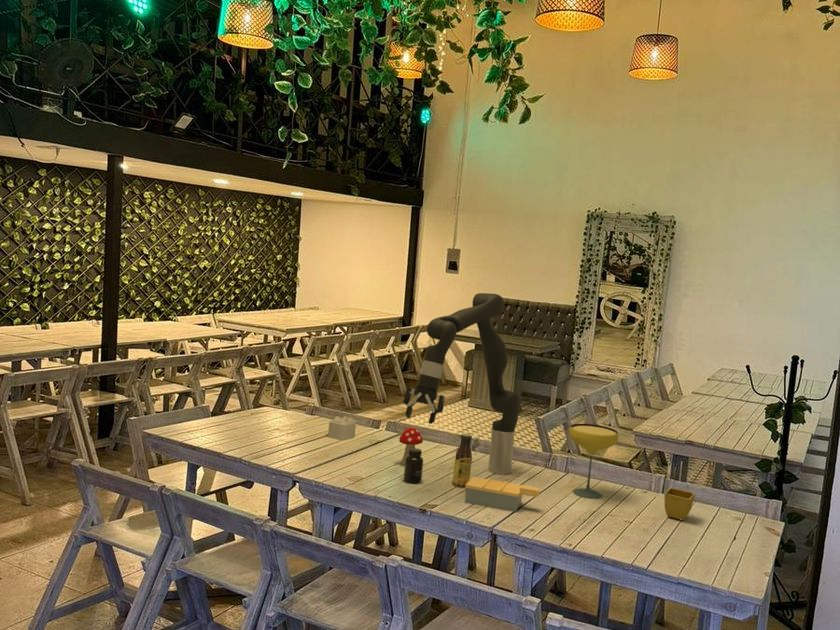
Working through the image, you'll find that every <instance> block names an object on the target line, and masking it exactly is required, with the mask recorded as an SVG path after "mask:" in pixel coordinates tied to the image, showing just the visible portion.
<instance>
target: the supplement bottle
mask: <svg viewBox="0 0 840 630" xmlns="http://www.w3.org/2000/svg"><path fill="white" fill-rule="evenodd" d="M408 454H409V455H408V456H407V457H406V459H405V466H404V468H403V469H404V470H403V471H404V472H403V481H404V482H405V481H406V483H409V484H419V483H421V482H422V477H423V466H424V459H423V457H422V449H420V448H416V447H415V448H411V449H409V453H408Z"/></svg>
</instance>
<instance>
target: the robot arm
mask: <svg viewBox="0 0 840 630" xmlns="http://www.w3.org/2000/svg"><path fill="white" fill-rule="evenodd" d="M504 302H505V301H504V299H503V297H502V296H501V295H500V294H497V293H486V292H485V293H484V292H479V293H477V294H474V296H473V298H472V302H471V303H472V306H471V307H466V308H465V307H464V308H462V309H459V310H457V311H455V312H453V313H451V314H448V315H444V316H438V317H436V318H433V319H432V320H430V321H429V323H428V324H427V326H426V333H427V336H429V337H430V338H431V339H434V340H438V343H436V344H431V345H428V346H427V348H426V351H425V354H424V359H423V362H422V365H421V368H420V371H419V375H418V379H417V383H416V387H415V388H413V387H409V386H408V387H407V389H406V391H405V394H404V398H403V402H402V403H403V404H405V406H407V407H406V410H405V416H406V418H408V419H410V418H411V417H412V412H413V407H414V406H415V405H417V404H418V403H420V404H423V405H428V406H429V408H430V411H431V412H430V415H429V417H428V418H429V419H428V424H431V425H432V424H433V423H435V421H436V416H437V414H441V413H443V410H444V404H445V399H446V396H445V395H441V394H440V395H439V394H438V390H439V387H440V382H441V378H442V375H443V369H444V368H443V367H444V363H445V359H446V356H447V353H448V351H449V350H450V347H451V346H452V344H453V342H454V340H455V338H456V336H457V333H460V332H462V331H464V330H466V329H467V328H469V327H472V326H473V325H475V324H476V325H477V329H478V332H479V333H478V334H479V338H480V341H481V346H482V348H481V349H482V354H483V360H484V363H485V364H484V365H485V368H486V369H485V370H486V374H487V382H488V395H489V403H490V406H491V409H493V411H495V412H499V413H501V414H502V416H501V419H496V420H494V421H493V422H492V427H491V434H490V436H491V437H490V444H489V445H490V446H489V457H488V469H487V470H488V471H489V472H490V473H492V474H498V475H508V474H511V473H512V465H513V464H512V463H513V454H514V453H513V452H514V441H515V430H516V427H517V424H518V421H519V420H518V419H519V413H520V406H521V405H520V404H521V399H520V396H519V394H518V393H517V392H513V391H511V390H507V389H505V388H504V383H503V382H504V381H503V376H504V372H505V371H506V368H507V366H508V363H509V358H508V351H507V346H506V344H505V342H504V340H503V338H502V337H501V336H500V334H499V333H498V332H497V331H496V329H495V328H494V327H493V325H492V322H491V319H494V318H498V317H499V316H501V315H502V313H503V311H504V308H505V303H504ZM413 394H414V397H412V395H413ZM411 397H412V398H411ZM435 400H437V401H438V403H437V406H436V403H435ZM510 472H511V473H510Z"/></svg>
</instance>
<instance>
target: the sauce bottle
mask: <svg viewBox="0 0 840 630" xmlns="http://www.w3.org/2000/svg"><path fill="white" fill-rule="evenodd" d="M472 438H473V436H472V435H471V434H470V433H461V434H460V444H459V447H458V448H457V450H456V452H455V458H454V466H453V475H452V486H454V487H456V488H462V489H464V488H465V485H466V484H467V482H468V481H469V480H470V479H471V469H472V462H473V461H472V460H473V455H472V449H471V442H472ZM465 489H466V488H465Z"/></svg>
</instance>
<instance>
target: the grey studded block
mask: <svg viewBox="0 0 840 630" xmlns="http://www.w3.org/2000/svg"><path fill="white" fill-rule="evenodd" d="M356 424H357V420H355V419H353V417H348V416H346V415H345V416H343V417H340V416H338V415H337V416H335V417H334V418H333V419H331V420H329V422H328V436H327V437H328V438H330V439H334V440H338V441H348V439H349V440H353V439H355V437H356V428H357V427H356Z"/></svg>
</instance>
